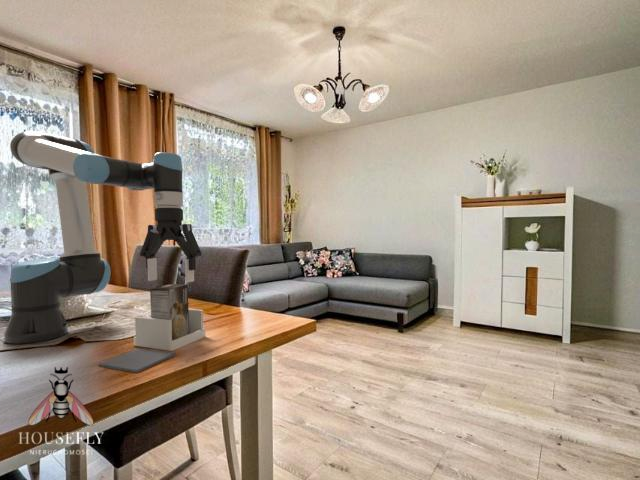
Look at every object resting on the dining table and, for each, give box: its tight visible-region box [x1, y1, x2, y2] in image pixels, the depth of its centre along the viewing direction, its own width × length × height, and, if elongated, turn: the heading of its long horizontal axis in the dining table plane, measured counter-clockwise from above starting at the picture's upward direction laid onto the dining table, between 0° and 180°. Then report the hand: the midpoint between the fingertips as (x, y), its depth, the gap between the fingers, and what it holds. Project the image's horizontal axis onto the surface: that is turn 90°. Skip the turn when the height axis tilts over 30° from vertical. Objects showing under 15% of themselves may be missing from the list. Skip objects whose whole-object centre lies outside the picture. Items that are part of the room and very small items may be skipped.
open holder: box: [132, 308, 206, 352], centre depth 102 cm, size 14×14×8 cm
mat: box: [98, 347, 177, 374], centre depth 87 cm, size 12×12×1 cm
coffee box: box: [149, 283, 190, 341], centre depth 102 cm, size 9×6×16 cm
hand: (170, 281), depth 102 cm, fingers open, 13 cm apart
